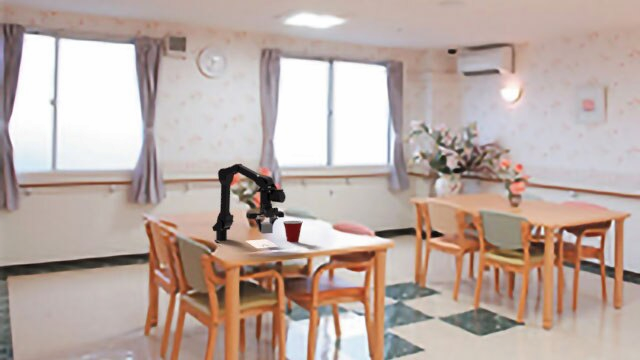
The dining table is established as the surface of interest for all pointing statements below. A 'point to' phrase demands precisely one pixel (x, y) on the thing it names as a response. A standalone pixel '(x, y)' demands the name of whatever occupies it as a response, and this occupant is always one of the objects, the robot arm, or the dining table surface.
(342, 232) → the dining table surface
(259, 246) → the primed board
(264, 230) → the block
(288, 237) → the plastic cup
